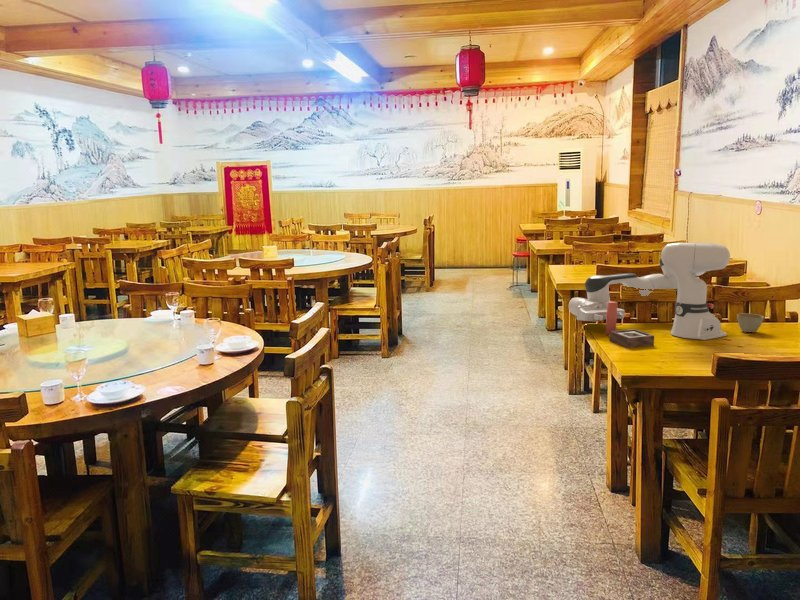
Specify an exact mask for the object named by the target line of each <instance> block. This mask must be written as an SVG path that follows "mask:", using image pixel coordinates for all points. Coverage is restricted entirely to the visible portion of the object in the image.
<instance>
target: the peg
mask: <svg viewBox="0 0 800 600" xmlns="http://www.w3.org/2000/svg"><path fill="white" fill-rule="evenodd" d="M617 308H618V302H617V301H611V300H610V302H607V319H606V320H605V321H606V324H605V325H606V326H605V335H606V336H609V335H610V331H617V319H618V318H617Z"/></svg>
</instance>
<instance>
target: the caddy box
mask: <svg viewBox="0 0 800 600" xmlns="http://www.w3.org/2000/svg"><path fill="white" fill-rule="evenodd" d="M611 341H612V343H614V342H615V343H614V344H616V343H617V345H619V346H621V347H624V346H625V348H626V349H632V348H631V347H633V348H640V347H639V346H643V347H650V345H652V346H654V345H655V335H653V334H651V333H648V332H645V331H642V330H639V329H636V328H633V329H621V330H616V331H610V336H609V342H611Z"/></svg>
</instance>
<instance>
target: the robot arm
mask: <svg viewBox="0 0 800 600" xmlns="http://www.w3.org/2000/svg"><path fill="white" fill-rule="evenodd" d="M730 260H731V253H730V250H729V249H728V248H727V247H726V246H725V245H722V244H717V243H708V242H707V243H705V242H703V243H702V242H672V243H666V245H664V247H663V248H662V250H661V253H660V258H659V261H658V263H659V266H660V268H661V270H662V273H651V274H648V275H644V276H640V277H639V276H638V275H637V274H636V273H632V272H626V273H624V272H623V273H614V274H604V275H599V274H598V275H597V274H596V275H591V276H589V277H588V278H587V279H586V281H585V282H584V287H585V291H586V296H587V298H584V297H578V296H577V297H572V298H571V299H570V301H569V303H568V310H569V312H570V313H571V314H572V315H574V316H576V320H577V321H582V322H583V321H584V322H593V323H595V322H599V321H606V320H607V302H611V298H610V291H609V286H610V285H615V284H622V285H623V287H624V286H627V287H634V288H636V289H638V288H640V289H644V290H639V293H640V294H641V296H646V295H647V296H648V295H649V294H650V293H651V292H653V291H649V290H648V289H652V290H654V289H676V290H677V291H676V295H677V297H676V301H675V306H674V310H675V315H674V320H673V325H672V327H671V330H670V334H671V335H672V336H675V337H679V338H682V339H683V338H684V339H693V340H702V341H707V340H712V339H717V338H722V337H726V336H728V335H727V332H726V331H723V330H722V325H721V321H720V320H719V319H718V318H717V316H715V315H714V314H712V312H710V309H711V310H712V309H714V307H715V305H714V304H713V303H707V291H708V285H707V283H706V282H705V281H704V280H703V279H702V278H701V279H700V278H699V277H700V276H702V275H704V274H705V273H707V272H711V271H717V270H718V271H719V270H723V269H725V268H726V267H727V266H728V265H729V262H730ZM645 289H646V290H645ZM625 314H626V312H625V309H623V308H619V307H617V319H621V320H622V319H624V318H625V316H626V315H625Z"/></svg>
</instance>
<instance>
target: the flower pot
mask: <svg viewBox="0 0 800 600" xmlns="http://www.w3.org/2000/svg"><path fill="white" fill-rule="evenodd" d="M736 319H737V322H738V325H739V328H740V330H741V332H743V331H744V332H743V333H746V332H755V333H757V331H758V330H759V329H760V328H761V325H762V323H763V321H764V319H765V317H764V316H763V315H761V314H754V313H748V312H747V313H745V312H744V313H738V314H736Z"/></svg>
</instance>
